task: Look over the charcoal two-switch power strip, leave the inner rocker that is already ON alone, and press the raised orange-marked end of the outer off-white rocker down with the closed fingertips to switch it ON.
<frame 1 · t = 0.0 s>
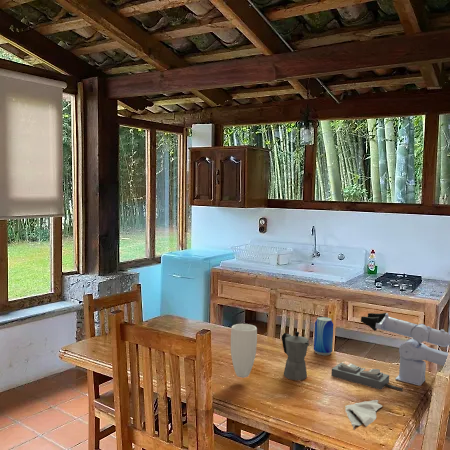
hand: (364, 317, 195), 22 cm above the table, tool horizontal, fingers open, 7 cm apart
power strip: (359, 379, 184), on the table
cloth: (363, 415, 156), on the table
rocker outer: (349, 365, 186), point 4 cm above the table, hinge at -12.0°
cup: (242, 383, 177), on the table
beer can: (322, 353, 214), on the table
rocker inner: (371, 371, 181), point 4 cm above the table, hinge at 12.0°
coffeepot: (293, 375, 186), on the table
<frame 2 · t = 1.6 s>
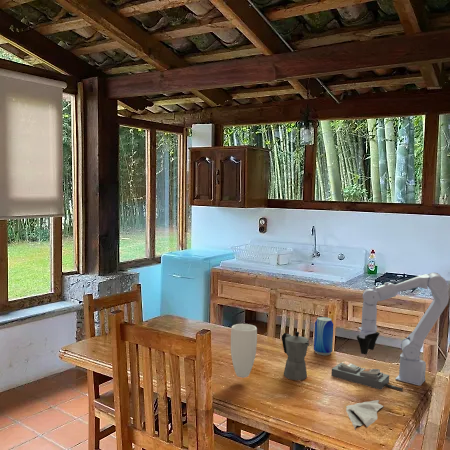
hand: (367, 351, 189), 9 cm above the table, tool pointing down, fingers open, 7 cm apart
nothing on the table moved.
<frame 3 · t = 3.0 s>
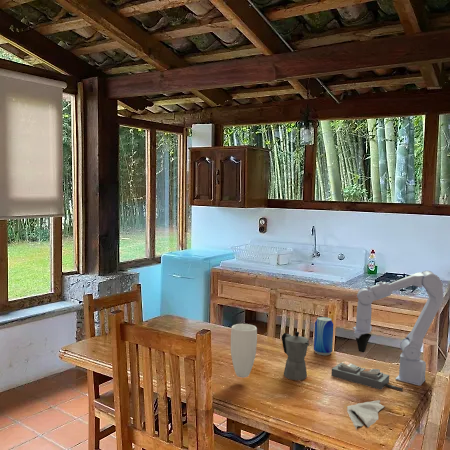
hand: (361, 351, 189), 10 cm above the table, tool pointing down, fingers closed
nothing on the table moved.
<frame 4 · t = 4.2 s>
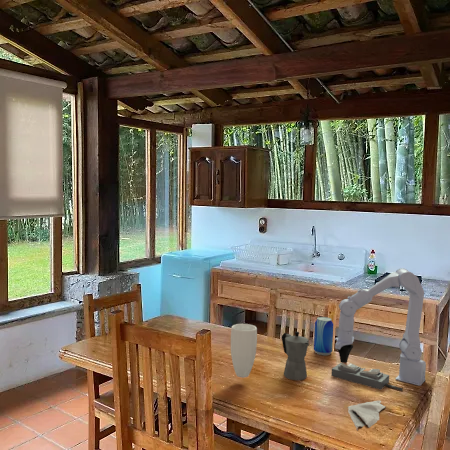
hand: (343, 362, 188), 5 cm above the table, tool pointing down, fingers closed, pressing on rocker outer
rocker outer: (349, 365, 186), point 4 cm above the table, hinge at -11.1°, touching gripper
everything else where it was.
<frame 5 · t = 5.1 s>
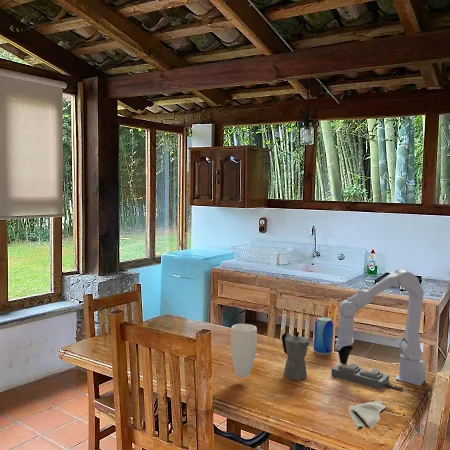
hand: (343, 363, 188), 5 cm above the table, tool pointing down, fingers closed, pressing on rocker outer
rocker outer: (349, 365, 187), point 4 cm above the table, hinge at 6.4°, touching gripper
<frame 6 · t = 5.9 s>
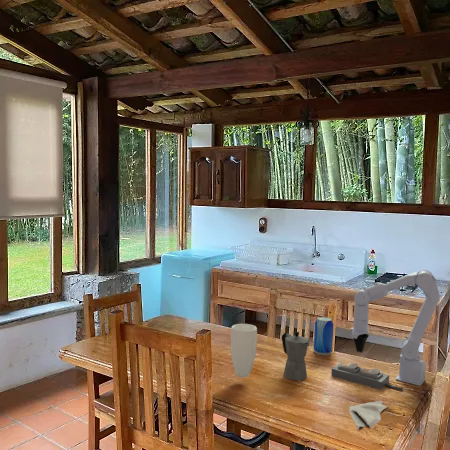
hand: (359, 351, 192), 8 cm above the table, tool pointing down, fingers closed
rocker outer: (349, 365, 187), point 4 cm above the table, hinge at 11.7°
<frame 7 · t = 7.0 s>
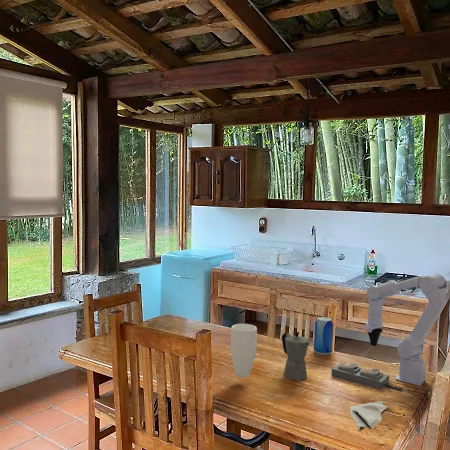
hand: (373, 345, 198), 9 cm above the table, tool pointing down, fingers closed
rocker outer: (349, 365, 187), point 4 cm above the table, hinge at 16.6°
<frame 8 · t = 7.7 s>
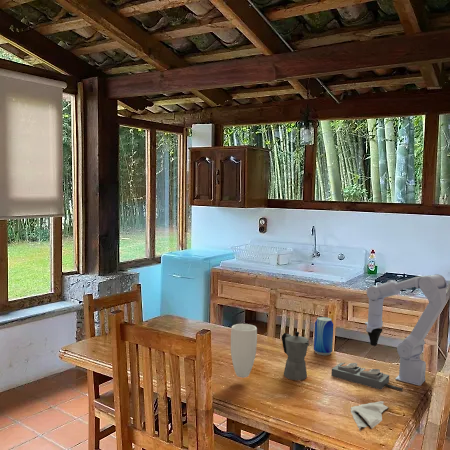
hand: (373, 345, 198), 9 cm above the table, tool pointing down, fingers closed
rocker outer: (349, 365, 187), point 4 cm above the table, hinge at 18.7°, touching power strip
at the end: rocker outer at +19° (first picture: -12°); rocker inner at +12° (first picture: +12°) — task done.
